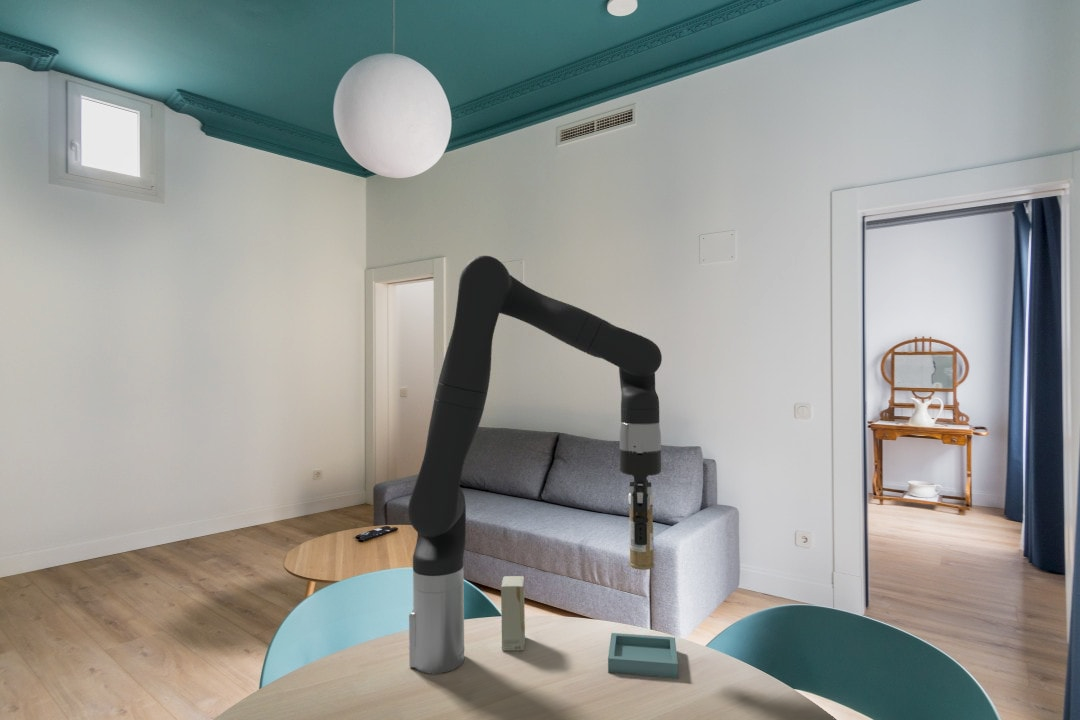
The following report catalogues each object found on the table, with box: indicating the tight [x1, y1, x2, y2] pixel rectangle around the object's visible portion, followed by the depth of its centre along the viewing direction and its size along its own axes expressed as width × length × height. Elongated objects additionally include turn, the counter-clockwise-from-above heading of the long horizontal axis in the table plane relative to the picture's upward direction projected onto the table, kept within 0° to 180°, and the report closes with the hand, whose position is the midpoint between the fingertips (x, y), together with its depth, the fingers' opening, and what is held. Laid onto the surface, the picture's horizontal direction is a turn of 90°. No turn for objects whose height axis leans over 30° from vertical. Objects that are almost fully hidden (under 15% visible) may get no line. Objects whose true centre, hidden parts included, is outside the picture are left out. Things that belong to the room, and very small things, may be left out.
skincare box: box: [500, 575, 526, 651], centre depth 113 cm, size 6×4×12 cm
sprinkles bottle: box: [627, 492, 655, 571], centre depth 106 cm, size 5×5×13 cm
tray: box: [607, 632, 679, 679], centre depth 105 cm, size 12×10×2 cm
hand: (640, 539), depth 105 cm, fingers closed on sprinkles bottle, 4 cm apart
